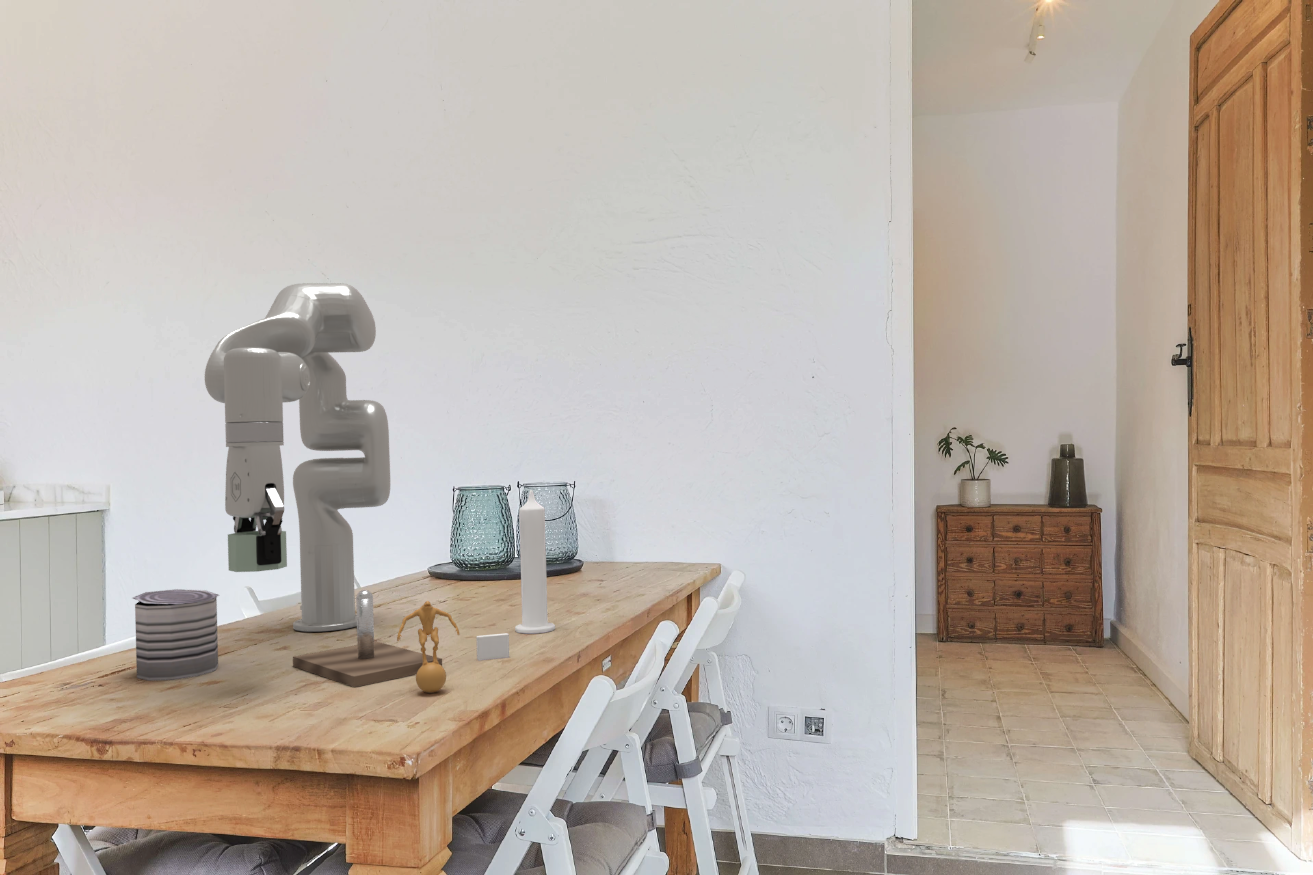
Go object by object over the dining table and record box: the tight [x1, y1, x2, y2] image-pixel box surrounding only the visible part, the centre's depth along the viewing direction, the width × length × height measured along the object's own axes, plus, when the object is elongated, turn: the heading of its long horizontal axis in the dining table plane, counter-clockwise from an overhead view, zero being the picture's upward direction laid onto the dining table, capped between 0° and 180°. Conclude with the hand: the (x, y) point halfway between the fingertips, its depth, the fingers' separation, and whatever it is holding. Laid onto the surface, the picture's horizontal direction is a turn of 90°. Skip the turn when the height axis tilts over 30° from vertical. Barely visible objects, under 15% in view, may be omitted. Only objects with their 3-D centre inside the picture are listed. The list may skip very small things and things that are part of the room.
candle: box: [514, 489, 556, 635], centre depth 170 cm, size 7×7×25 cm
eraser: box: [475, 632, 510, 662], centre depth 148 cm, size 1×5×4 cm, turn 109°
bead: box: [227, 530, 288, 573], centre depth 134 cm, size 7×7×5 cm
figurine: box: [396, 600, 460, 694], centre depth 129 cm, size 8×6×12 cm
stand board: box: [292, 641, 443, 688], centre depth 144 cm, size 20×14×2 cm
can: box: [132, 588, 220, 682], centre depth 145 cm, size 11×11×12 cm
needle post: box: [355, 589, 375, 659], centre depth 144 cm, size 2×2×10 cm
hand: (258, 561), depth 134 cm, fingers closed on bead, 7 cm apart
